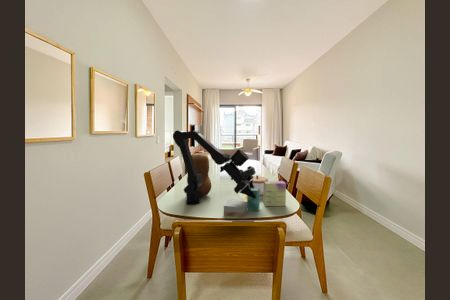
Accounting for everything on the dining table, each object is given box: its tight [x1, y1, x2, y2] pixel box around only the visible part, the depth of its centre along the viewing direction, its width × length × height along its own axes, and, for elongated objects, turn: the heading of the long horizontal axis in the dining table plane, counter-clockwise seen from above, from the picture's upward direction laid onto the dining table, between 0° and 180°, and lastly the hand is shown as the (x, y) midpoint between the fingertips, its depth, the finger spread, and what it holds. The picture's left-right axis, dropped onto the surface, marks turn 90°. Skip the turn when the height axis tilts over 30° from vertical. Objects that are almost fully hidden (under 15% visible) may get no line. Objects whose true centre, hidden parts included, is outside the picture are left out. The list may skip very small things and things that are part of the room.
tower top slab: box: [223, 199, 248, 213], centre depth 109 cm, size 9×9×2 cm
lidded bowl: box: [251, 175, 269, 196], centre depth 140 cm, size 13×13×11 cm
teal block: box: [246, 188, 261, 212], centre depth 114 cm, size 5×5×10 cm
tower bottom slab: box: [223, 209, 248, 218], centre depth 109 cm, size 9×9×2 cm
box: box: [262, 180, 287, 207], centre depth 120 cm, size 10×6×12 cm, turn 92°
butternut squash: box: [191, 153, 212, 198], centre depth 135 cm, size 14×13×25 cm
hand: (256, 196), depth 113 cm, fingers closed on teal block, 5 cm apart
